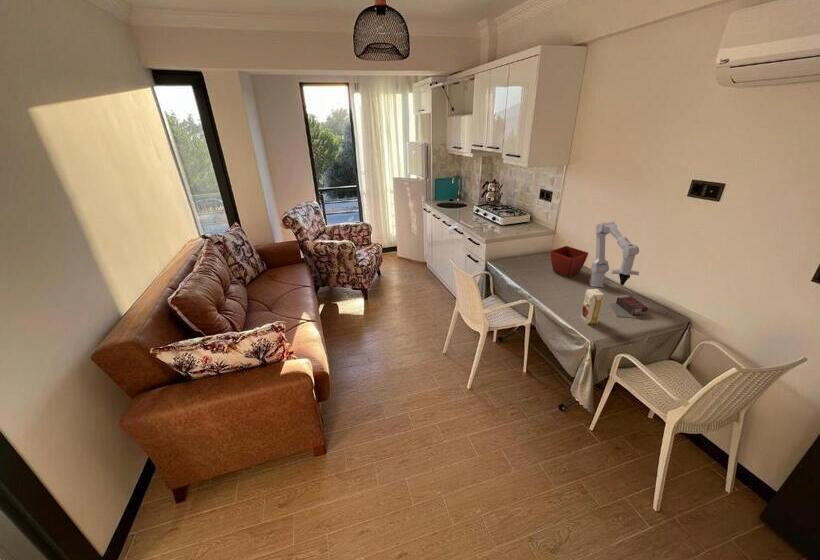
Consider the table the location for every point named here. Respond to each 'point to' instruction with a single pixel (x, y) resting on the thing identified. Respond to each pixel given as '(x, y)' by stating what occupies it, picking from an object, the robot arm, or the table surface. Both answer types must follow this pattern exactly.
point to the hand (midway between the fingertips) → (621, 284)
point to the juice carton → (592, 306)
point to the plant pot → (567, 260)
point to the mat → (622, 311)
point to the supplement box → (631, 305)
